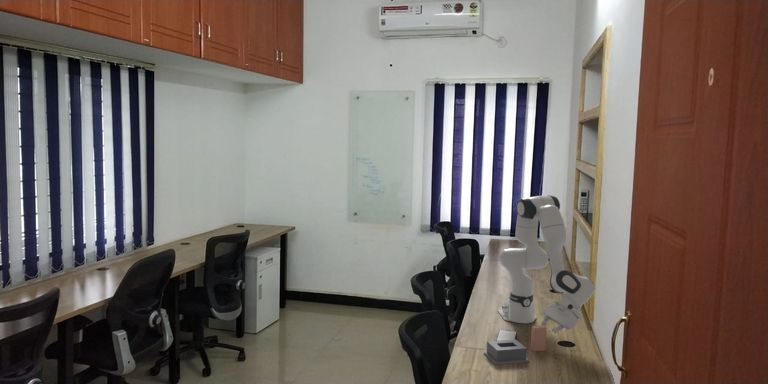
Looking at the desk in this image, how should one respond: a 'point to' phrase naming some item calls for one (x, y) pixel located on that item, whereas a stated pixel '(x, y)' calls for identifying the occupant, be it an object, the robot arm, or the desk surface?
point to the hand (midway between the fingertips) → (547, 328)
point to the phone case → (506, 335)
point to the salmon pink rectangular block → (538, 338)
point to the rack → (506, 352)
